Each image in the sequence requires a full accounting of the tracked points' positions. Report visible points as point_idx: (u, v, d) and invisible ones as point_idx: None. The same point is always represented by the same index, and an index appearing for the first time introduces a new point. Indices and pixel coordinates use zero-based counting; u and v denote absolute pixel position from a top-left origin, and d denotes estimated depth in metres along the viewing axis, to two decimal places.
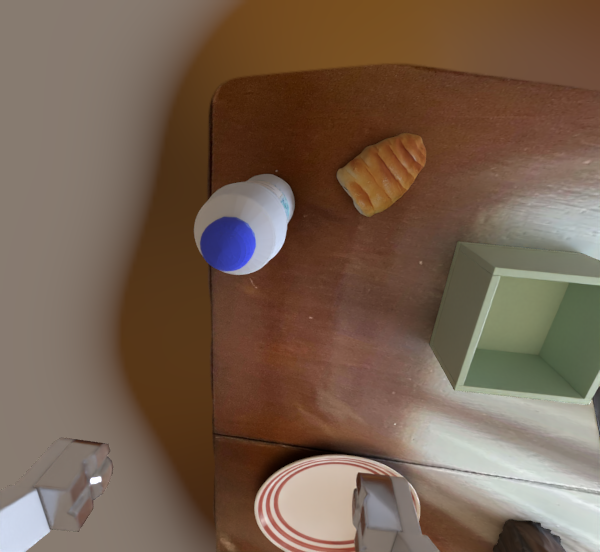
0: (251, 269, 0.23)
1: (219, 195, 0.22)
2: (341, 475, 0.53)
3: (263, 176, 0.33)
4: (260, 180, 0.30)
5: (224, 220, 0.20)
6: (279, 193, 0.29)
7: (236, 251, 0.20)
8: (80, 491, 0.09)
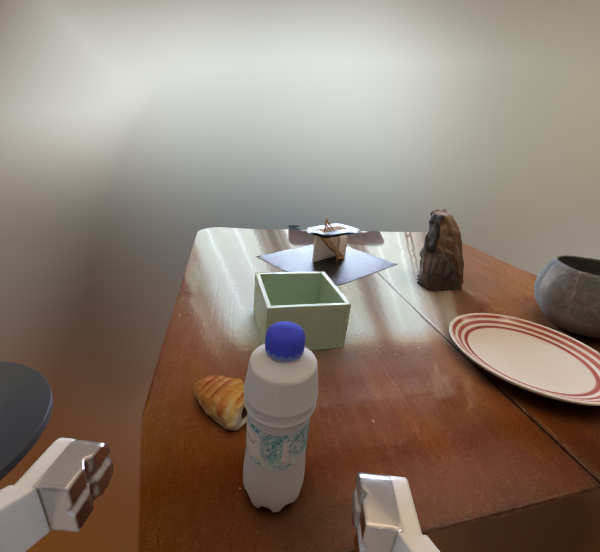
0: (305, 347, 0.30)
1: (253, 373, 0.26)
2: (495, 360, 0.58)
3: (244, 465, 0.32)
4: (246, 442, 0.31)
5: (266, 338, 0.26)
6: None
7: (284, 322, 0.27)
8: (80, 491, 0.09)
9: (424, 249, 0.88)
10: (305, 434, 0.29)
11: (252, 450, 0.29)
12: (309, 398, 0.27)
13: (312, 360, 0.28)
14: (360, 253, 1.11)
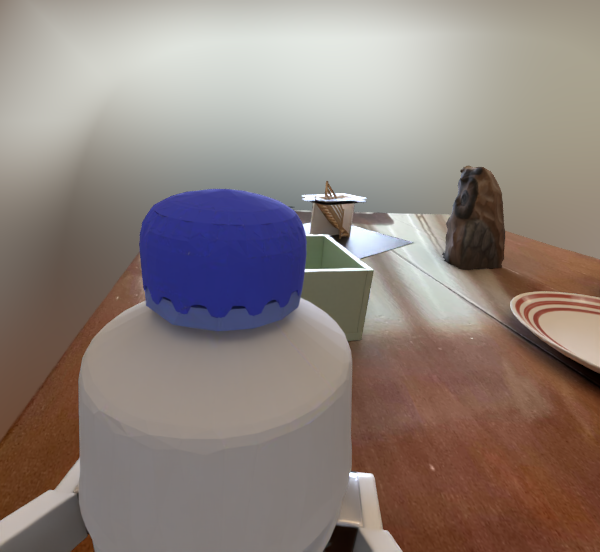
0: (305, 300, 0.09)
1: (81, 388, 0.06)
2: (593, 354, 0.38)
3: None
4: None
5: (141, 238, 0.06)
6: None
7: None
8: None
9: (454, 216, 0.68)
10: None
11: None
12: (326, 487, 0.07)
13: (333, 335, 0.08)
14: (367, 232, 0.91)
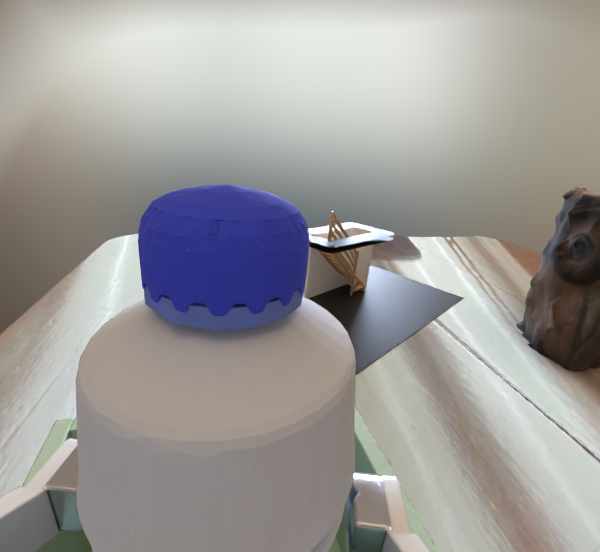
0: None
1: (78, 389, 0.06)
2: None
3: None
4: None
5: None
6: None
7: None
8: None
9: (554, 276, 0.39)
10: None
11: None
12: (329, 491, 0.06)
13: (336, 334, 0.07)
14: (390, 277, 0.62)
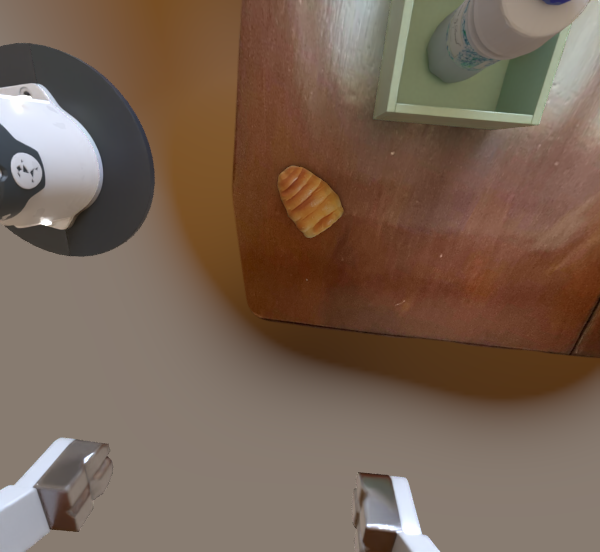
0: None
1: (500, 0, 0.21)
2: None
3: (436, 40, 0.32)
4: (449, 27, 0.29)
5: None
6: None
7: None
8: (80, 491, 0.09)
9: None
10: None
11: (451, 45, 0.29)
12: (542, 43, 0.23)
13: None
14: None
